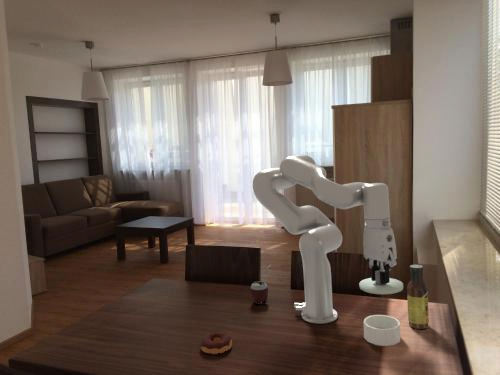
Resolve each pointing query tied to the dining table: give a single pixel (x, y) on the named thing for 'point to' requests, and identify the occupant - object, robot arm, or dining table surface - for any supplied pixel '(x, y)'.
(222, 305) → the dining table surface
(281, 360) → the dining table surface
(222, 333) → the donut
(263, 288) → the mate gourd
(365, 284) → the lid
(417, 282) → the sauce bottle
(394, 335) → the bowl
